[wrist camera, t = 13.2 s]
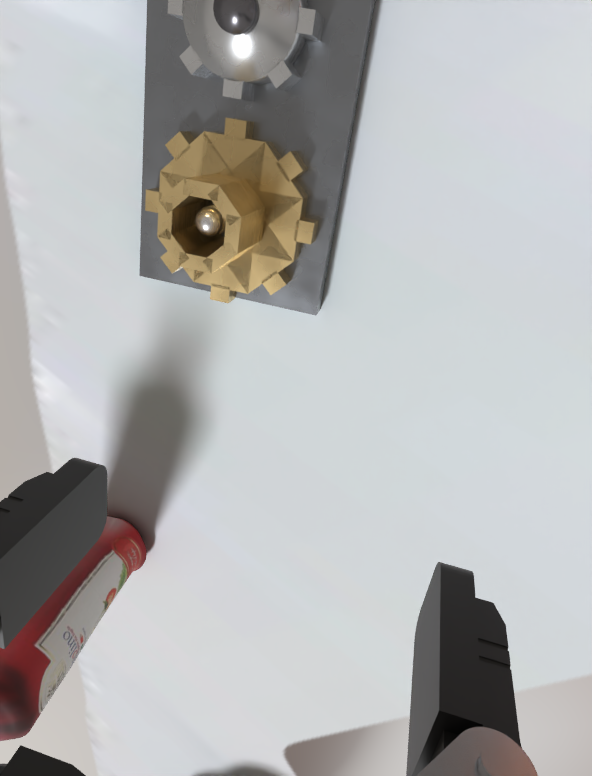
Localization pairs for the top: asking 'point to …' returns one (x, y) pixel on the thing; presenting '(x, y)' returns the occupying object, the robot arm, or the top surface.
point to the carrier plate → (256, 108)
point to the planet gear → (232, 210)
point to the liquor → (64, 627)
